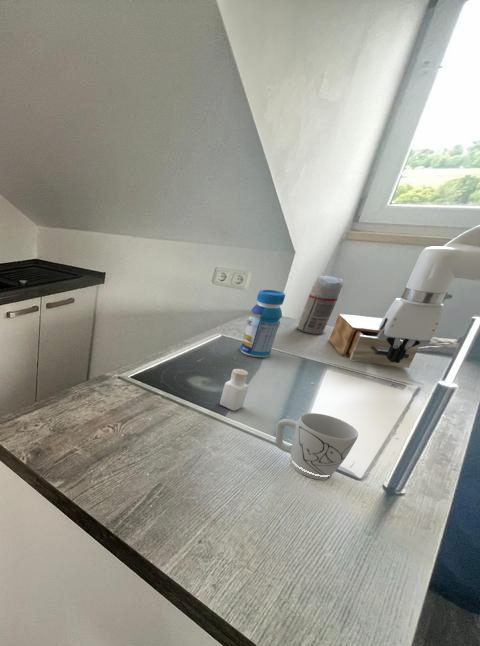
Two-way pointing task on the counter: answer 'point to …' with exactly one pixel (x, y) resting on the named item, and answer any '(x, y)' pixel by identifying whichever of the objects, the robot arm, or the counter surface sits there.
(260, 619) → the counter surface
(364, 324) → the cabinet
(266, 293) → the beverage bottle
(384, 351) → the drawer
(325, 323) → the spray can
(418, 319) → the robot arm
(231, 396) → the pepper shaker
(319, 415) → the mug
